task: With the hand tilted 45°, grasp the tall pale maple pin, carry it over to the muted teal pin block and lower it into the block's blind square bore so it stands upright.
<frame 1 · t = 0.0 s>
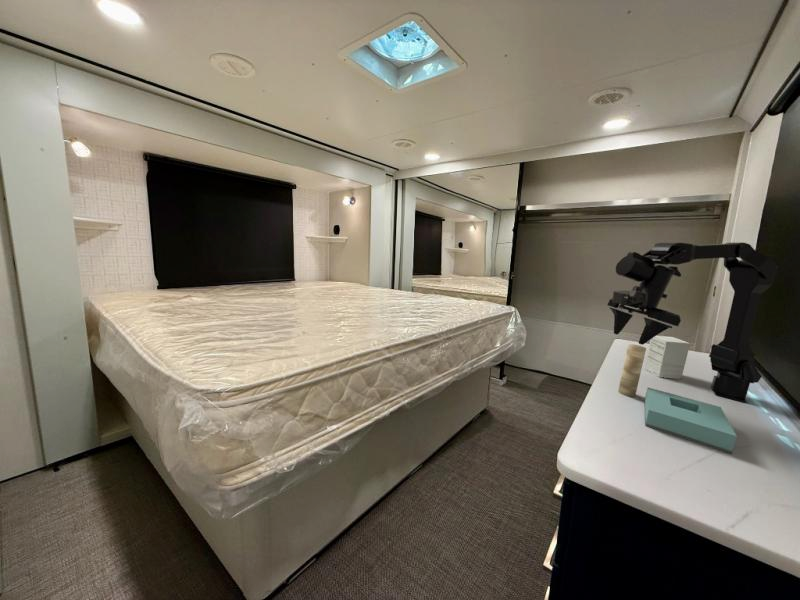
hand: (627, 338, 87), 15 cm above the cabinet, tool pointing down, fingers open, 9 cm apart
maple pin: (626, 393, 87), on the cabinet
supplement box: (661, 374, 105), on the cabinet
pin block: (681, 423, 73), on the cabinet
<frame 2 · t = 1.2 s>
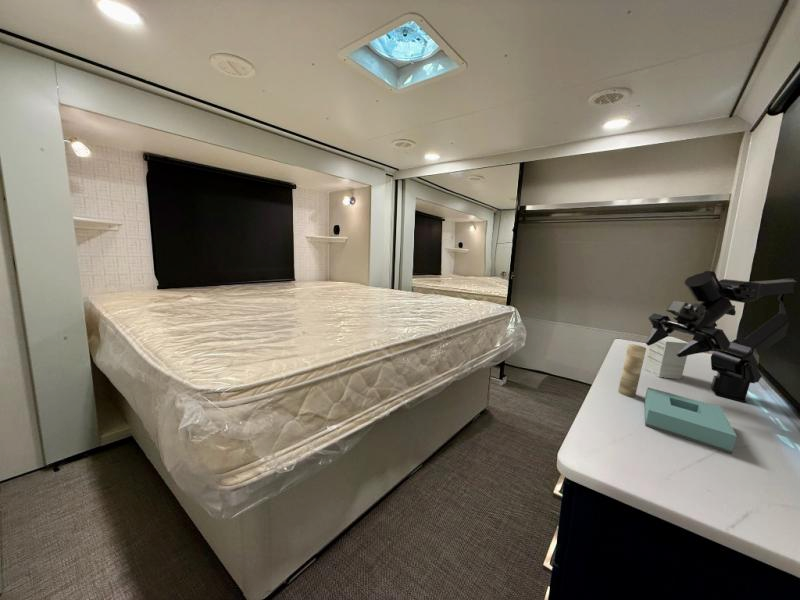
hand: (661, 349, 86), 13 cm above the cabinet, tool tilted 45°, fingers open, 9 cm apart
nothing on the cabinet moved.
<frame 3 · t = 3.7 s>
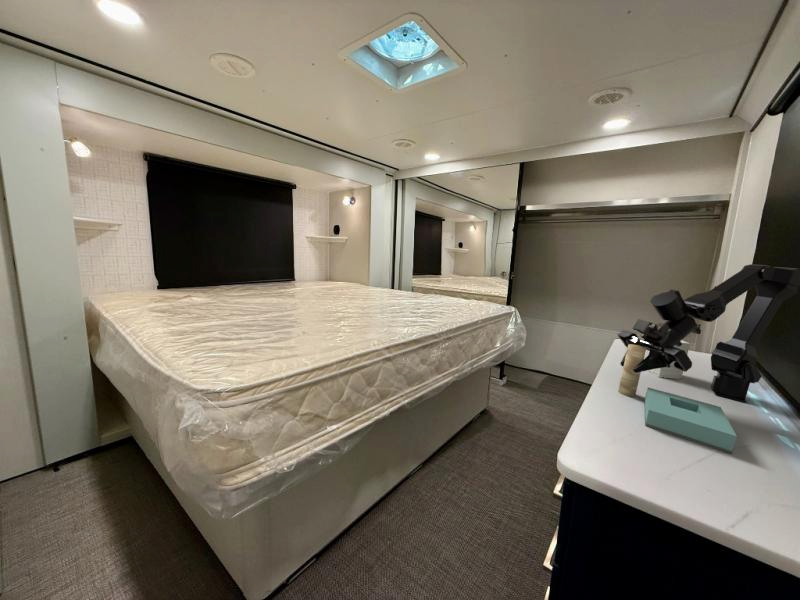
hand: (627, 368, 86), 8 cm above the cabinet, tool tilted 45°, fingers closed on maple pin, 4 cm apart
maple pin: (626, 393, 87), on the cabinet, touching gripper
everything else where it was.
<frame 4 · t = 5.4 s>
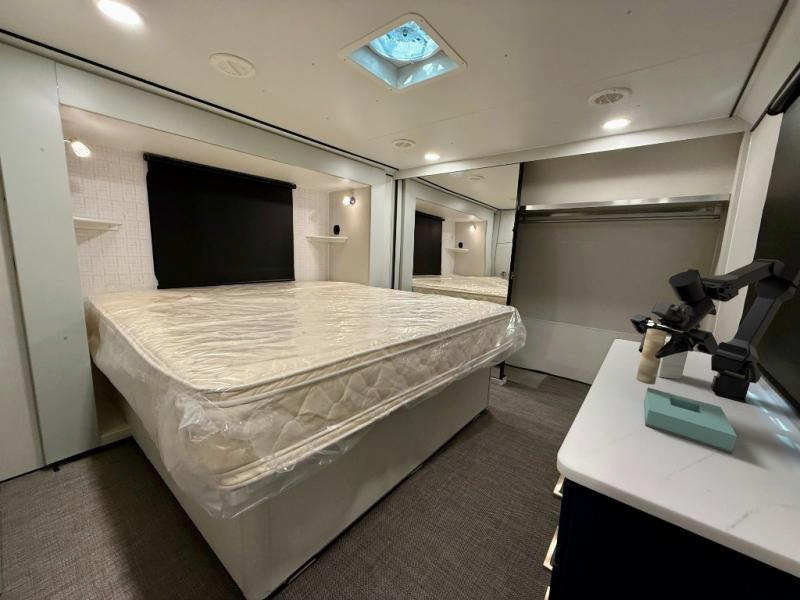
hand: (647, 354, 80), 13 cm above the cabinet, tool tilted 45°, fingers closed on maple pin, 4 cm apart
maple pin: (645, 381, 82), point 6 cm above the cabinet, touching gripper
everything else where it was.
when the fingers open (9 cm above the cabinet, at t = 7.3 s): maple pin drops 1 cm, resting on pin block.
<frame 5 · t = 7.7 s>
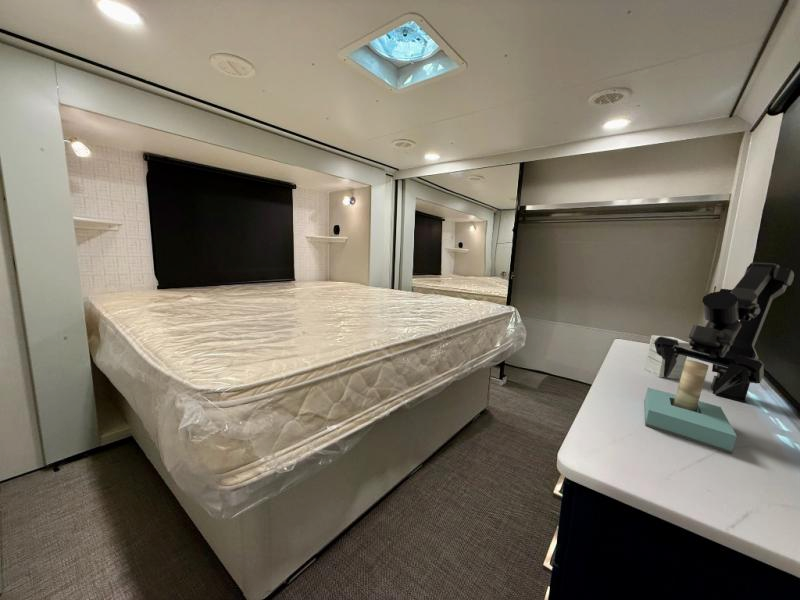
hand: (688, 384, 72), 10 cm above the cabinet, tool tilted 45°, fingers open, 9 cm apart
maple pin: (681, 417, 75), point 1 cm above the cabinet, touching pin block
everything else where it was.
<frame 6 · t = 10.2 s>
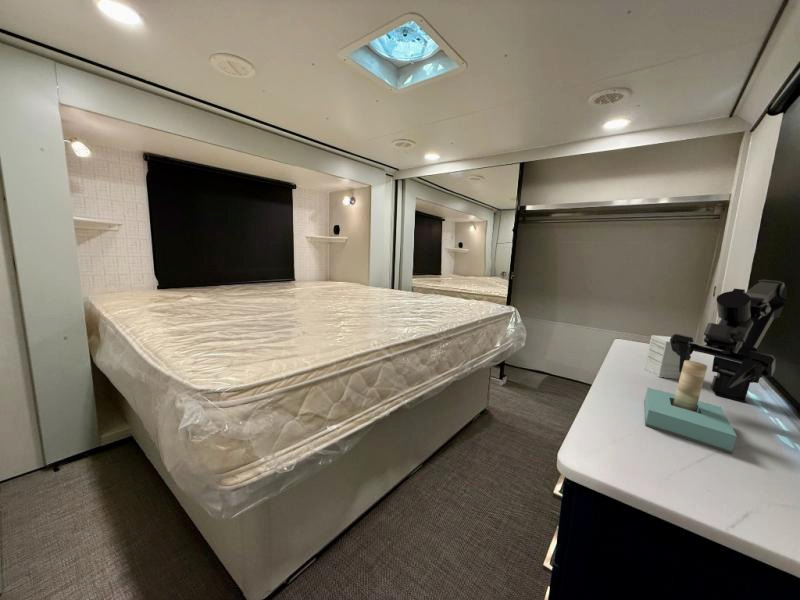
hand: (703, 378, 77), 9 cm above the cabinet, tool tilted 45°, fingers open, 9 cm apart
nothing on the cabinet moved.
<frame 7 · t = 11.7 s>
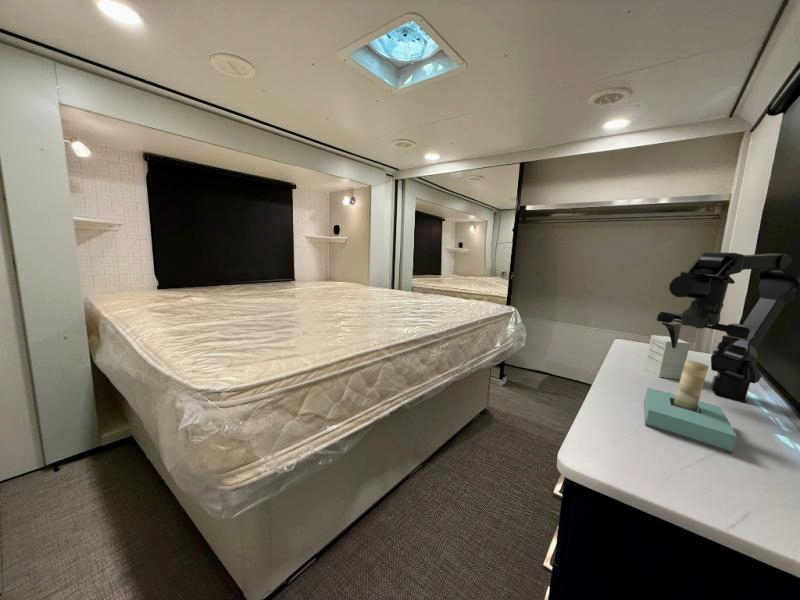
hand: (694, 353, 86), 13 cm above the cabinet, tool pointing down, fingers open, 9 cm apart
nothing on the cabinet moved.
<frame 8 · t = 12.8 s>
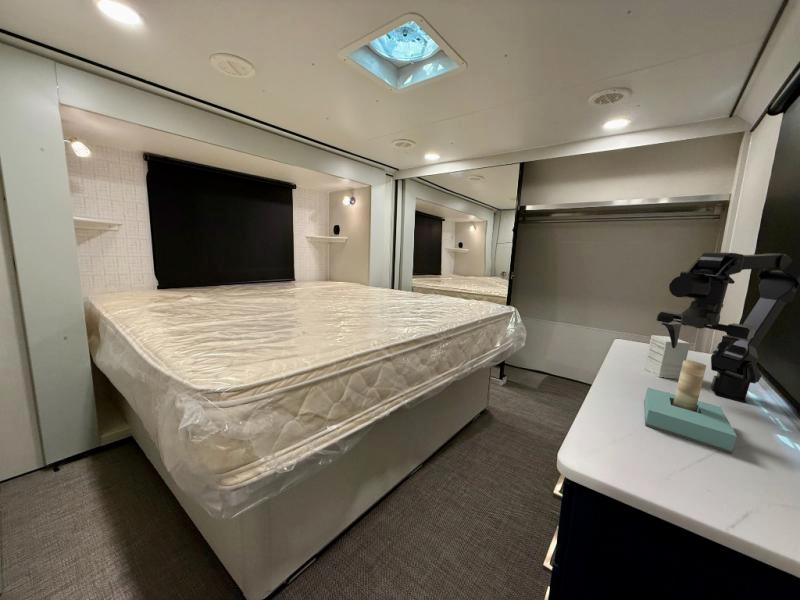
hand: (694, 353, 86), 13 cm above the cabinet, tool pointing down, fingers open, 9 cm apart
nothing on the cabinet moved.
at the end: maple pin 0.1 cm from the target spot on the pin block, point 0.6 cm above the pin block's base; maple pin tilted 1°; the gripper is holding nothing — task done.
